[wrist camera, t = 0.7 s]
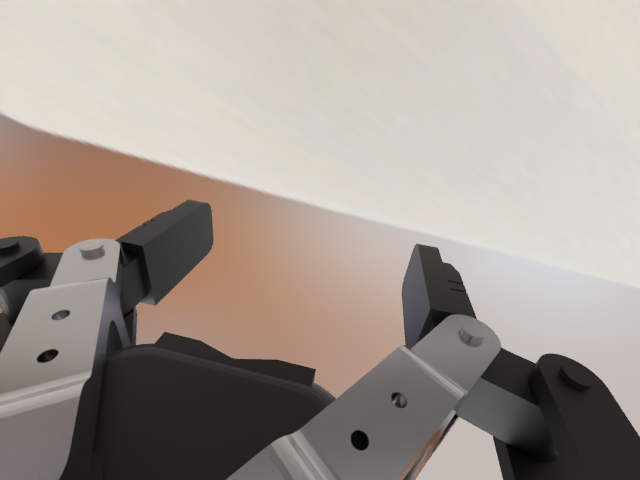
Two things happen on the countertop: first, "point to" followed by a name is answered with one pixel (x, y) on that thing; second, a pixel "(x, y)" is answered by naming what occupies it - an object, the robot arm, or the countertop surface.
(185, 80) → the countertop surface
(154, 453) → the robot arm
